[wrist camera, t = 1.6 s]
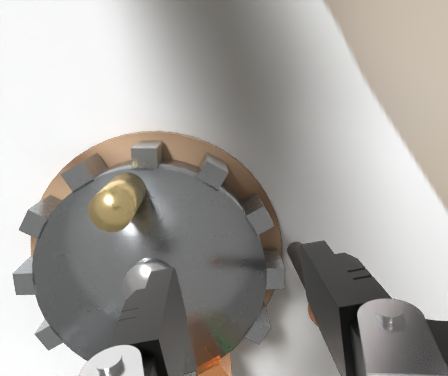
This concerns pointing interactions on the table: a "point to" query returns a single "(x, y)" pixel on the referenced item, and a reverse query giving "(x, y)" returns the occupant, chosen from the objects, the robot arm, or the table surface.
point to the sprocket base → (193, 154)
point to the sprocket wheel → (151, 254)
